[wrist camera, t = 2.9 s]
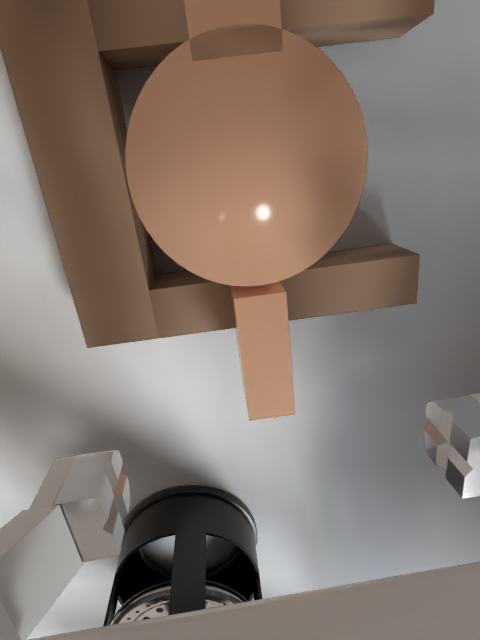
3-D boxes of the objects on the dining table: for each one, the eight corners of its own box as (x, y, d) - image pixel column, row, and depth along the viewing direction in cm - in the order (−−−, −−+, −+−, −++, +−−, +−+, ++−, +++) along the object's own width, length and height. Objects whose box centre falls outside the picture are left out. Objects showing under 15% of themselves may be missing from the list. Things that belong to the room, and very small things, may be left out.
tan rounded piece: (141, 72, 17) (88, -5, 9) (299, 54, 17) (369, -36, 10) (190, 347, 22) (181, 438, 14) (312, 330, 22) (365, 412, 15)
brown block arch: (401, -31, 16) (438, -70, 14) (391, 287, 21) (416, 303, 19) (18, 11, 16) (-20, -21, 13) (102, 325, 21) (87, 348, 18)
